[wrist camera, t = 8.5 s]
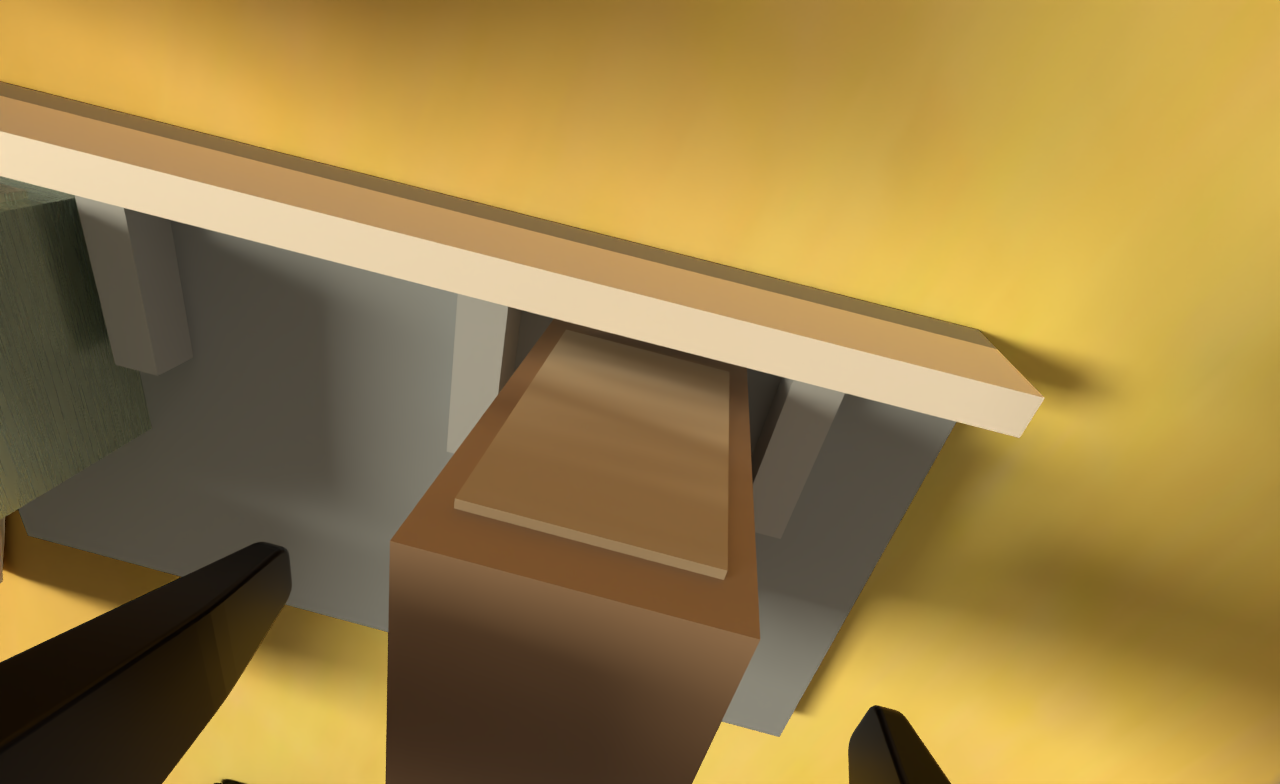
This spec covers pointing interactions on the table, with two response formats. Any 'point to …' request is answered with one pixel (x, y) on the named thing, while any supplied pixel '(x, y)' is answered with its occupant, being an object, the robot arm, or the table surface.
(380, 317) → the display board
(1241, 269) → the table surface
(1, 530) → the tea box
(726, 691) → the block
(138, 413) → the sage tin
